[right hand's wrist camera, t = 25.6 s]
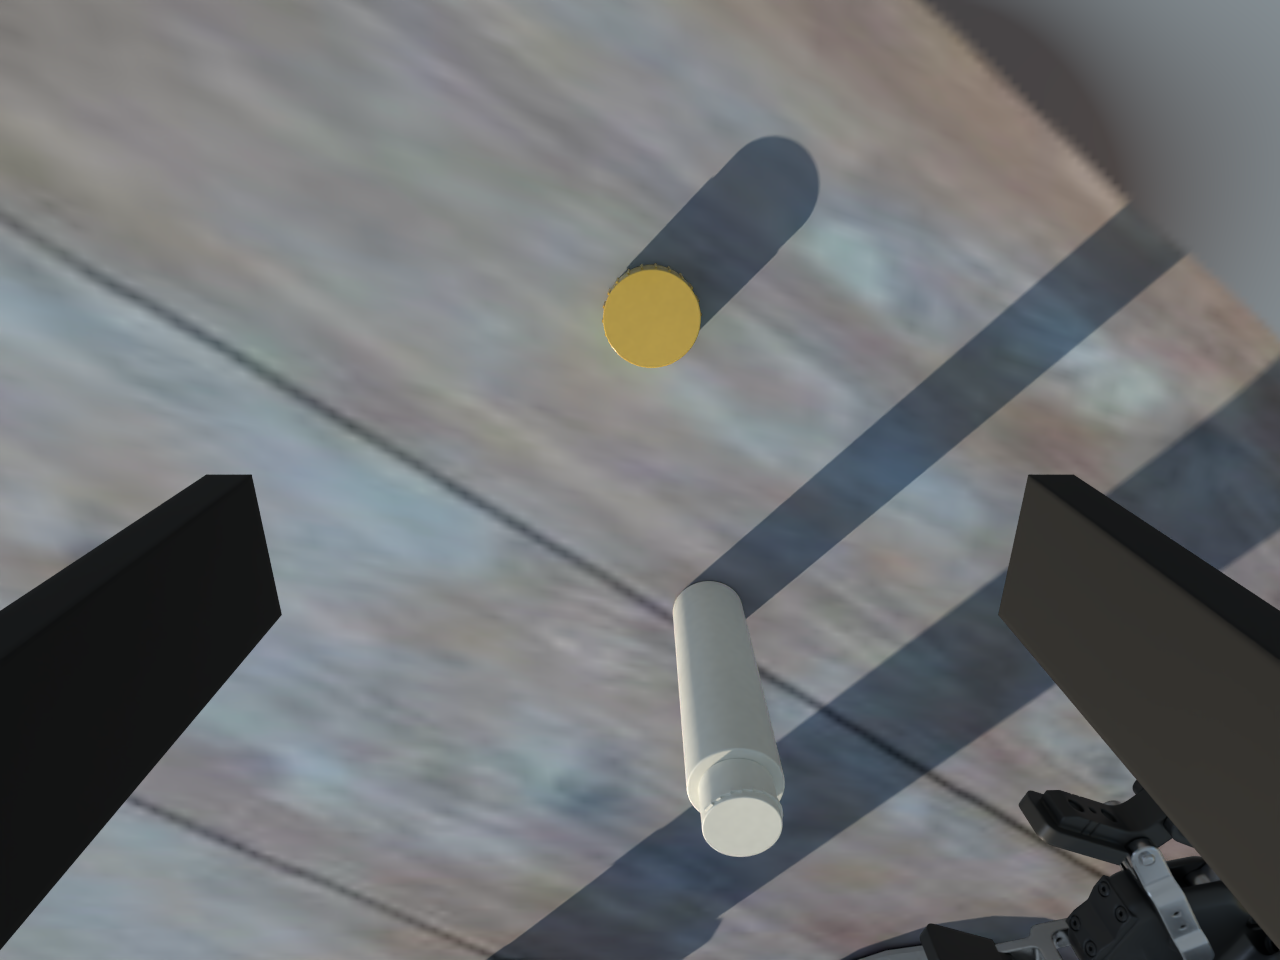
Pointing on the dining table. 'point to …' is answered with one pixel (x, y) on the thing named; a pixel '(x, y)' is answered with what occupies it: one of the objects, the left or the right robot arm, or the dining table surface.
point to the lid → (651, 316)
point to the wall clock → (900, 954)
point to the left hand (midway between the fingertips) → (978, 885)
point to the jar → (726, 723)
